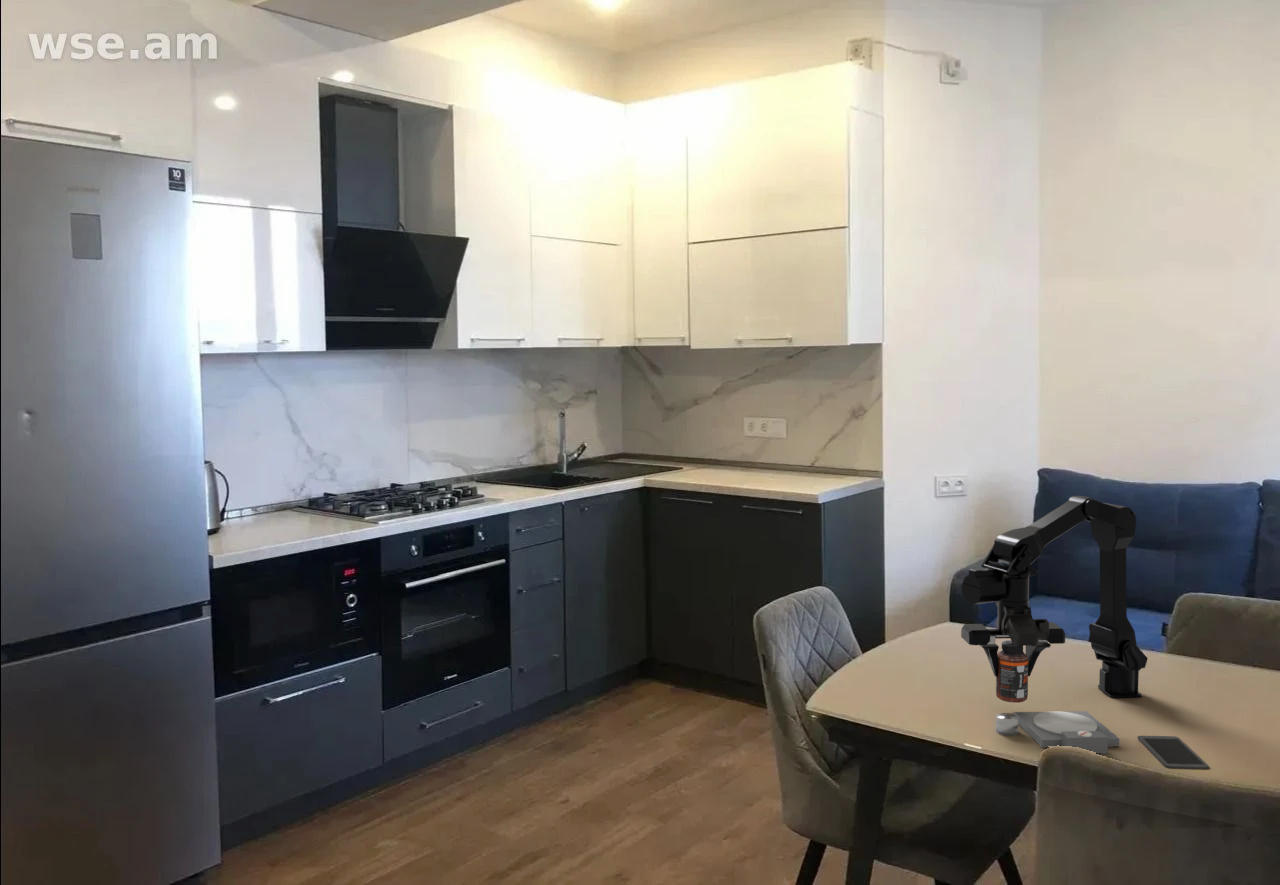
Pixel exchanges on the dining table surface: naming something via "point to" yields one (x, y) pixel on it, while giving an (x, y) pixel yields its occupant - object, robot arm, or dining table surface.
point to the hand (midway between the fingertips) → (1012, 676)
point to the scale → (1067, 730)
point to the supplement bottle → (1012, 673)
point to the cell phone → (1172, 752)
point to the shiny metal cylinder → (1007, 724)
